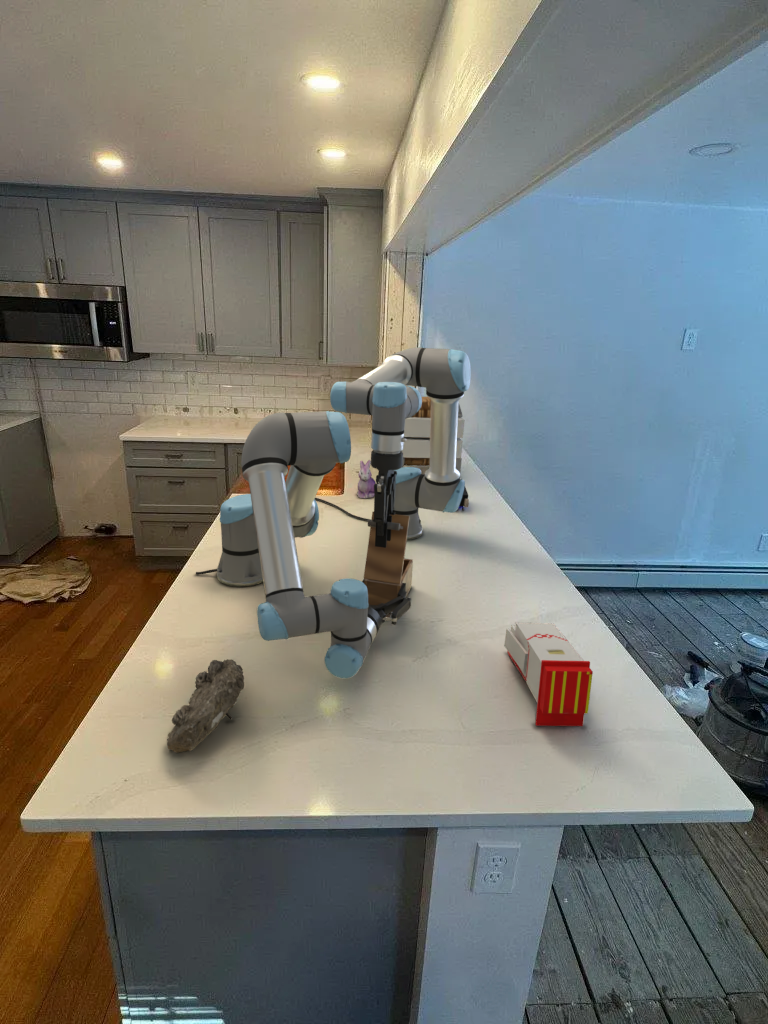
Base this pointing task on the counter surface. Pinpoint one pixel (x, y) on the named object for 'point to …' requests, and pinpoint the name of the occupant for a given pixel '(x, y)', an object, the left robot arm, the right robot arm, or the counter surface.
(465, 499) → the figurine character
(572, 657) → the toy
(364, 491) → the figurine
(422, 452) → the wooden drawer cabinet
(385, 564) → the lid
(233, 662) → the fossil
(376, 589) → the chest
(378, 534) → the right robot arm
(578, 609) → the counter surface
